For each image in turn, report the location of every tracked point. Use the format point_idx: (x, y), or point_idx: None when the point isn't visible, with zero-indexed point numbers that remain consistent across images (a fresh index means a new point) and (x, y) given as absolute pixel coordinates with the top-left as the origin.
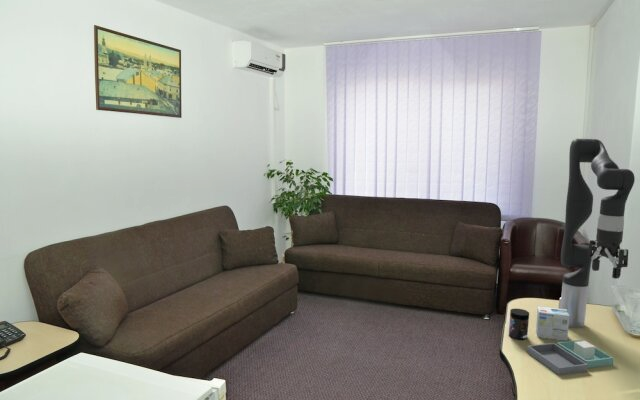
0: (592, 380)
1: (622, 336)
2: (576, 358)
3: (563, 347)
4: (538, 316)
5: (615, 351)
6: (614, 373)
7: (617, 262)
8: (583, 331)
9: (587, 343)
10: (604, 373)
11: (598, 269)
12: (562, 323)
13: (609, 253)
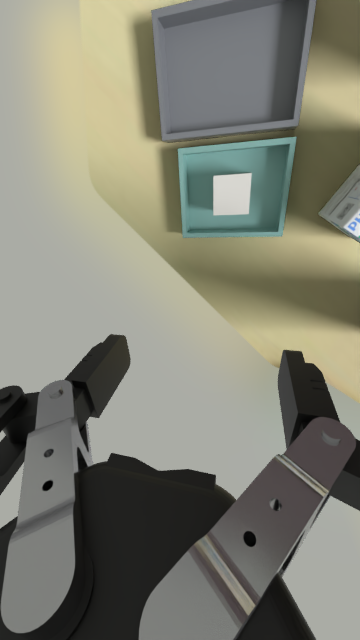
0: (138, 129)
1: None
2: (196, 131)
3: (263, 140)
4: None
5: (239, 291)
6: (161, 211)
7: (85, 445)
8: (346, 303)
9: (233, 207)
10: (163, 188)
11: (278, 383)
12: (348, 204)
13: (29, 511)
